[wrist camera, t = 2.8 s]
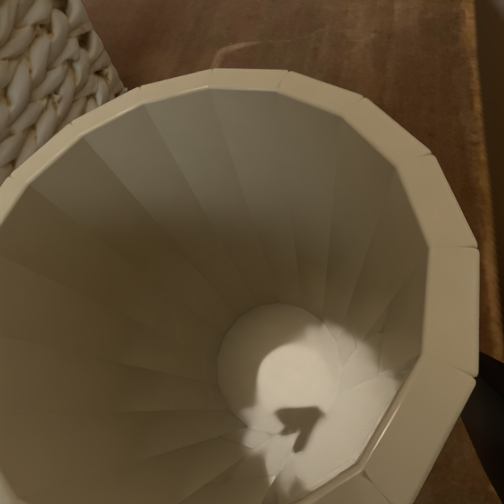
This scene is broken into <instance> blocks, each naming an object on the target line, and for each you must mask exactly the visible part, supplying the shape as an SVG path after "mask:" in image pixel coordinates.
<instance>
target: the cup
mask: <svg viewBox="0 0 504 504" xmlns="http://www.w3.org/2000/svg"><path fill="white" fill-rule="evenodd" d="M71 123H72V124H71ZM71 123H69V124H67V125H66V126H65V127H64V128H63V129H62V130H60V131H59V132H58V133H57V134H56V135H55V136H53V137H52V138H51V139H50V140H49V141H48V142H47V143H45V144H44V145H43V146H42V147H41V148H40V149H38V150H37V151H36V152H35V153H34V154H33V155H31V156H30V157H29V158H28V159H27V160H26V161H25V162H23V163H22V164H21V165H20V166H19V167H18V168H16V169H15V170H14V171H13V172H12V173H11V174H10V176H11V177H10V176H9V177H7V178H6V179H5V181H4V182H3V184H2V185H1V186H0V504H414V502H415V500H416V499H417V497H418V495H419V493H420V491H421V489H422V487H423V485H424V483H425V481H426V479H427V478H428V476H429V474H430V472H431V470H432V468H433V466H434V464H435V462H436V460H437V458H438V457H439V455H440V453H441V451H442V449H443V447H444V445H445V443H446V441H447V439H448V437H449V436H450V434H451V432H452V430H453V428H454V426H455V424H456V422H457V420H458V418H459V416H460V415H461V413H462V411H463V409H464V407H465V405H466V403H467V401H468V399H469V397H470V395H471V394H472V392H473V390H474V388H475V385H476V380H475V379H474V378H476V377H477V375H478V373H479V260H480V253H479V250H478V249H477V241H476V239H475V237H474V235H473V233H472V231H471V229H470V227H469V225H468V223H467V221H466V219H465V217H464V215H463V213H462V211H461V209H460V207H459V204H458V202H457V200H456V198H455V196H454V194H453V192H452V190H451V188H450V186H449V184H448V182H447V180H446V178H445V176H444V174H443V172H442V170H441V168H440V165H439V163H438V161H437V159H436V157H435V156H434V155H431V151H430V150H429V149H428V148H427V147H426V146H424V145H423V144H422V143H421V142H420V141H418V140H417V139H416V138H415V137H414V136H412V135H411V134H410V133H409V132H408V131H406V130H405V129H404V128H403V127H402V126H400V125H399V124H398V123H397V122H396V121H394V120H393V119H392V118H391V117H390V116H388V115H387V114H386V113H385V112H384V111H382V110H381V109H380V108H379V107H378V106H376V105H375V104H374V103H373V102H372V101H370V100H369V99H368V98H363V96H362V95H361V94H358V93H355V92H352V91H349V90H346V89H343V88H340V87H337V86H334V85H331V84H328V83H326V82H323V81H320V80H317V79H314V78H311V77H308V76H305V75H302V74H299V73H296V72H293V71H289V72H288V70H279V69H238V68H214V69H213V70H212V69H207V70H203V71H199V72H195V73H190V74H186V75H182V76H178V77H174V78H170V79H166V80H162V81H158V82H154V83H150V84H145V85H142V86H141V87H140V88H139V87H136V88H134V89H132V90H130V91H128V92H126V93H124V94H122V95H120V96H119V97H117V98H115V99H113V100H111V101H109V102H107V103H105V104H103V105H101V106H99V107H97V108H96V109H94V110H92V111H90V112H88V113H86V114H84V115H82V116H80V117H78V118H76V119H74V120H73V121H72V122H71Z"/></svg>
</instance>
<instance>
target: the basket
mask: <svg viewBox="0 0 504 504" xmlns="http://www.w3.org/2000/svg"><path fill="white" fill-rule="evenodd" d="M103 47H104V45H103V43H102V41H101V39H100V38H99V36H98V35H97V34H96V32H95V31H94V30H93V26H92V24H91V22H90V20H89V18H88V14H87V12H86V10H85V8H84V6H83V4H82V2H81V0H0V186H1V185H2V184H3V182H4V181H5V179H6V178H7V177H9V176H10V174H11V173H12V172H13V171H14V170H15V169H16V168H18V167H19V166H20V165H21V164H22V163H23V162H25V161H26V160H27V159H28V158H29V157H30V156H31V155H33V154H34V153H35V152H36V151H37V150H38V149H40V148H41V147H42V146H43V145H44V144H45V143H47V142H48V141H49V140H50V139H51V138H52V137H53V136H55V135H56V134H57V133H58V132H59V131H60V130H62V129H63V128H64V127H65V126H66V125H67V124H69V123H71V122H72V121H73V120H74V119H76V118H78V117H80V116H82V115H84V114H86V113H88V112H90V111H92V110H94V109H96V108H97V107H99V106H101V105H103V104H105V103H107V102H109V101H111V100H113V99H115V98H117V97H119V96H120V95H122V94H124V93H126V92H127V89H128V88H124V86H123V83H122V82H121V80H120V78H119V75H118V73H117V70H116V69H115V68H114V66H113V65H112V63H111V60H110V58H109V56H108V54H107V52H106V51H105V49H104V48H103ZM71 124H72V123H71ZM10 177H11V176H10Z"/></svg>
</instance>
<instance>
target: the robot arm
mask: <svg viewBox="0 0 504 504" xmlns="http://www.w3.org/2000/svg"><path fill="white" fill-rule="evenodd" d="M474 379H475V380H476V385H475V388H474V390H473V392H472V394H471V395H470V397H469V399H468V401H467V403H466V405H465V407H464V409H463V411H462V413H461V415H460V416H461V418H462V421H463V423H464V425H465V428H466V430H467V432H468V435H469V437H470V439H471V441H472V444H473V446H474V448H475V451H476V453H477V455H478V457H479V460H480V462H481V464H482V466H483V468H484V470H485V472H486V474H487V476H488V478H489V480H490V482H491V484H492V485H493V487H494V489H495V491H496V493H497V495H498V496H499V498H500V500H501V502H502V504H504V363H502V362H500V361H498V360H496V359H494V358H492V357H490V356H488V355H486V354H484V353H482V352H480V351H479V373H478V375H477V377H476V378H474Z"/></svg>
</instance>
